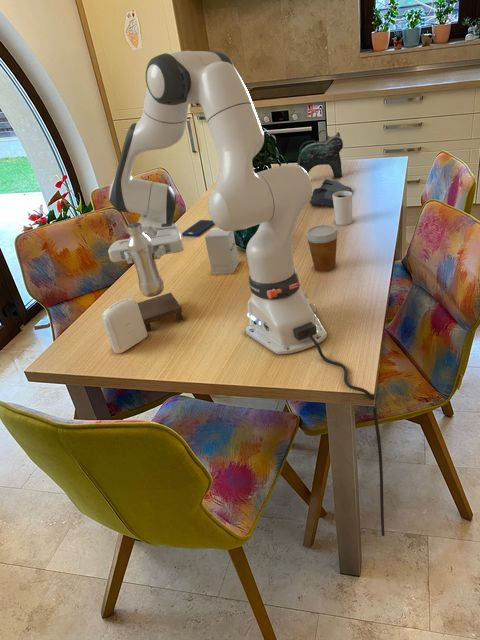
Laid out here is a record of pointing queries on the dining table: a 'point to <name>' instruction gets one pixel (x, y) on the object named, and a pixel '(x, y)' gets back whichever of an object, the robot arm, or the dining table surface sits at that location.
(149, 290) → the aluminum water bottle
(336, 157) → the ceramic cat
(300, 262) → the dining table surface
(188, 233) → the cell phone
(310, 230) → the disposable coffee cup
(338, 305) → the dining table surface
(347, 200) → the white paper cup
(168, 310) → the walnut riser
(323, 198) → the dark slate chunk
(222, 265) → the white packaging box
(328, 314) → the dining table surface
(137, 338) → the photo printer
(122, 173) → the robot arm
